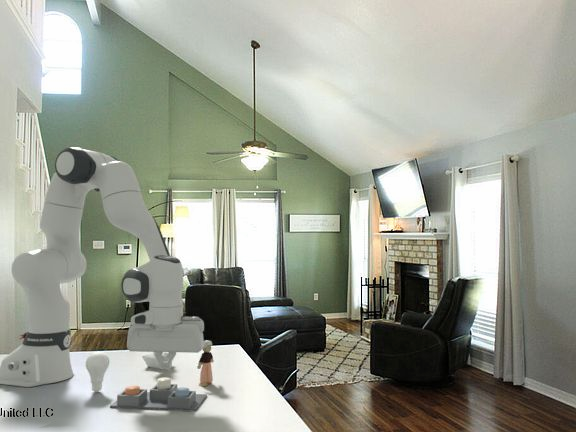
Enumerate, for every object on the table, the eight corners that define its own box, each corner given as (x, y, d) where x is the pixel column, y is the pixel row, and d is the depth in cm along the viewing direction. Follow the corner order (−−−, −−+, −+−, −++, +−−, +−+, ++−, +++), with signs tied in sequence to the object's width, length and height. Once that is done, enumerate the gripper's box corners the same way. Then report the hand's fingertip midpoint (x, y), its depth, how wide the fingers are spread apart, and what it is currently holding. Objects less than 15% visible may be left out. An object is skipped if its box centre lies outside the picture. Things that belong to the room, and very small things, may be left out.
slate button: (172, 403, 118) (172, 391, 118) (177, 399, 121) (177, 387, 121) (186, 404, 117) (186, 392, 118) (190, 399, 121) (191, 387, 121)
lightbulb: (84, 390, 131) (86, 350, 131) (108, 387, 133) (109, 348, 134) (84, 396, 125) (86, 355, 126) (109, 394, 128) (110, 353, 128)
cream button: (154, 392, 123) (155, 381, 123) (159, 388, 127) (159, 377, 127) (168, 393, 123) (168, 381, 123) (172, 389, 126) (172, 377, 127)
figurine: (174, 363, 160) (175, 319, 161) (158, 370, 151) (159, 323, 152) (156, 361, 162) (157, 317, 163) (139, 368, 153) (140, 322, 154)
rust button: (122, 402, 119) (122, 389, 119) (128, 397, 122) (128, 385, 122) (136, 402, 118) (136, 390, 119) (141, 397, 122) (142, 386, 122)
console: (110, 407, 118) (110, 395, 118) (128, 393, 129) (128, 382, 129) (195, 411, 116) (196, 398, 116) (206, 396, 127) (207, 385, 127)
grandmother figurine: (207, 388, 134) (208, 343, 135) (195, 387, 135) (195, 342, 135) (217, 380, 141) (217, 337, 142) (205, 379, 142) (205, 337, 143)
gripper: (207, 314, 128) (206, 366, 127) (134, 313, 130) (133, 364, 129) (201, 318, 122) (200, 372, 121) (124, 317, 123) (123, 370, 123)
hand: (165, 368), depth 125 cm, fingers closed
